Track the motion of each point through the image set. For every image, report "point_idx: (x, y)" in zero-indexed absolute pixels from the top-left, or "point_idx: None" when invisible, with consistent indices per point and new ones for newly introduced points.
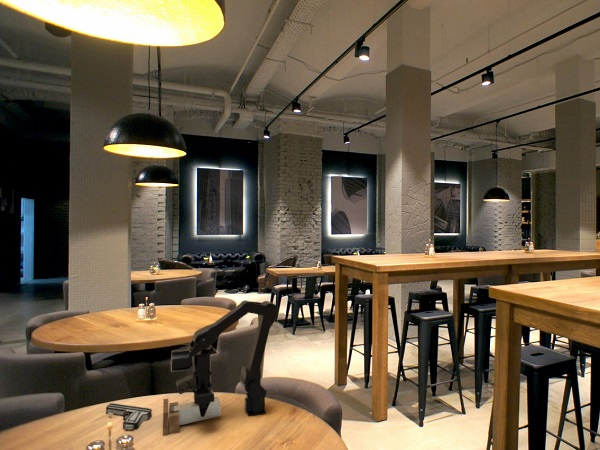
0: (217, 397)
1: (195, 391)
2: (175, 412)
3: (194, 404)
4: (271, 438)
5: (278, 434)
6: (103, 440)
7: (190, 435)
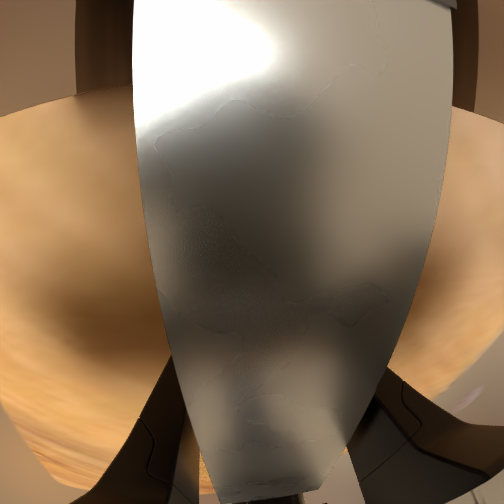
0: (300, 491)
1: (457, 488)
2: (58, 13)
3: (274, 392)
4: (54, 449)
5: (78, 461)
6: None
7: (16, 207)
